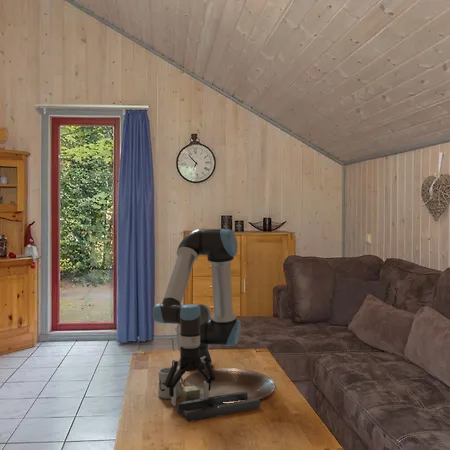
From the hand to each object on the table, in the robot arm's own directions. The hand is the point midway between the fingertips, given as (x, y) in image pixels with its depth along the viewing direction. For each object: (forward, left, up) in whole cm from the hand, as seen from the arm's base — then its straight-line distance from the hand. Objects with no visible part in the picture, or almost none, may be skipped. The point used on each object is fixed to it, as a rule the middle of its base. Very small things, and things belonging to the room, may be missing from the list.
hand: (190, 402), depth 214 cm
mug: (-9, -3, 0) cm, 10 cm away
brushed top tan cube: (0, 0, 0) cm, 0 cm away
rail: (+11, +6, 0) cm, 13 cm away
